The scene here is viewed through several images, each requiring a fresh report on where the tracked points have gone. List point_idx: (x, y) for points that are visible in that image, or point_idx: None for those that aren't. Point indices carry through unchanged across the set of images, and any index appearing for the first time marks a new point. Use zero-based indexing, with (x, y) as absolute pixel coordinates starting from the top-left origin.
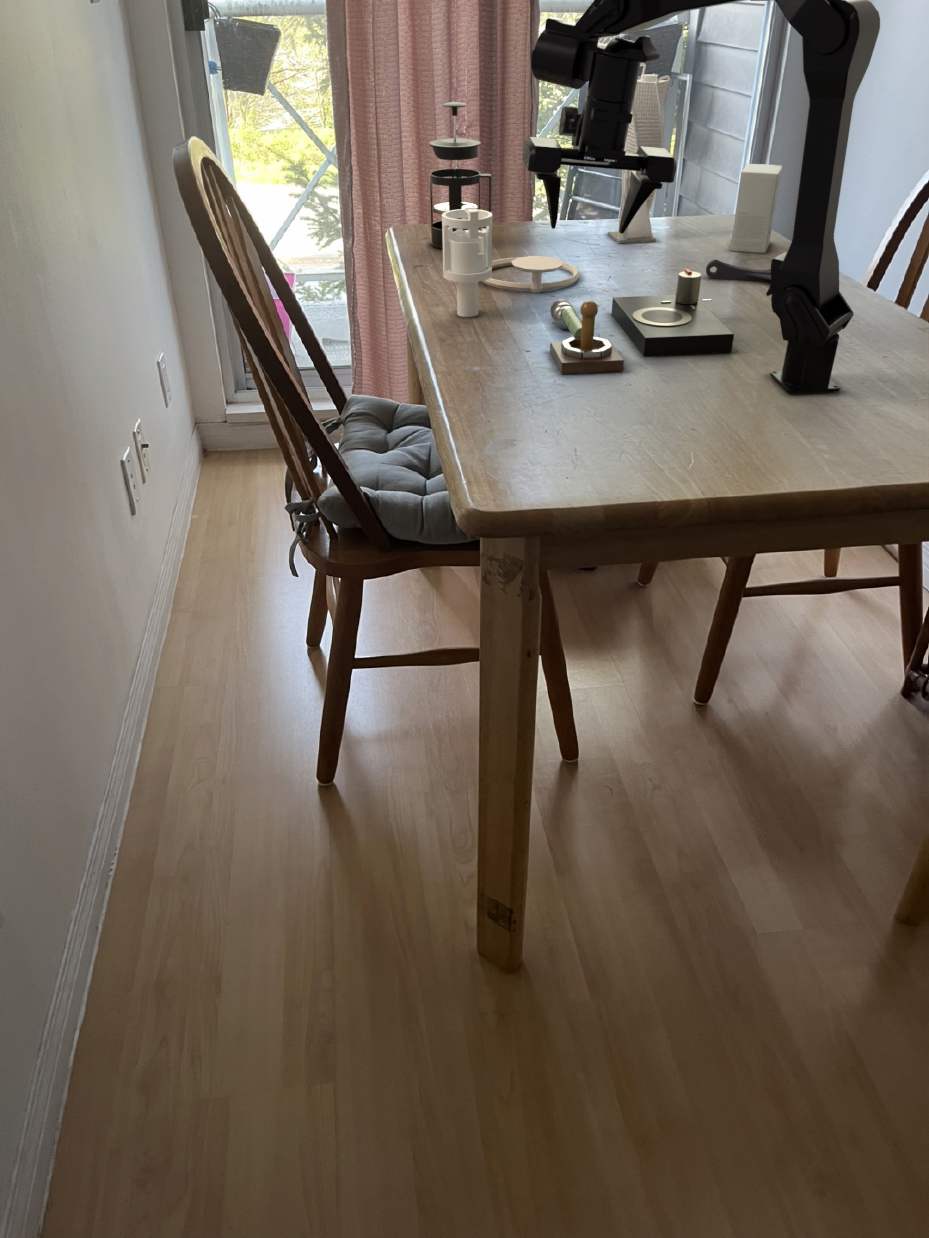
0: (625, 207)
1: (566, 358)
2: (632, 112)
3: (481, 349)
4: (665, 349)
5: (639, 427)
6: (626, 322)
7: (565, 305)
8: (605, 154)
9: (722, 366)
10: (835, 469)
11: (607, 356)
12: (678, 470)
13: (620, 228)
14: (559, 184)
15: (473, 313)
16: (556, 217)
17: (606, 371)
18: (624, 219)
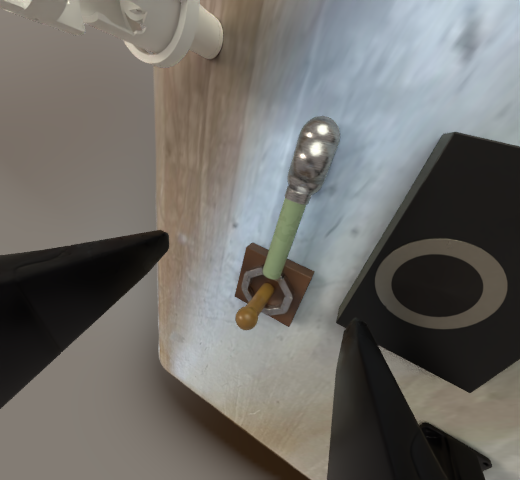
0: (357, 409)
1: (242, 291)
2: None
3: (196, 196)
4: None
5: (249, 377)
6: (383, 241)
7: (300, 176)
8: None
9: (402, 377)
10: (318, 472)
11: None
12: (243, 410)
13: (348, 334)
14: (24, 382)
15: (210, 55)
16: (141, 276)
17: None
18: (337, 382)
